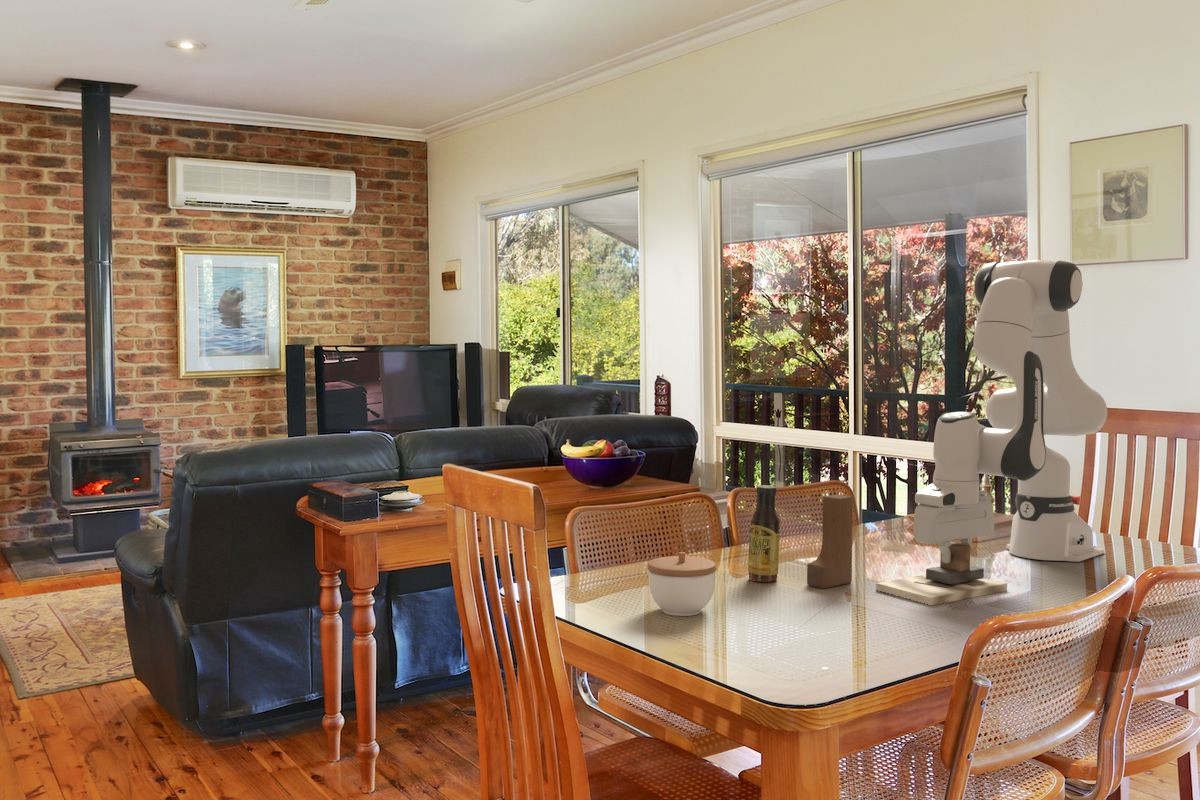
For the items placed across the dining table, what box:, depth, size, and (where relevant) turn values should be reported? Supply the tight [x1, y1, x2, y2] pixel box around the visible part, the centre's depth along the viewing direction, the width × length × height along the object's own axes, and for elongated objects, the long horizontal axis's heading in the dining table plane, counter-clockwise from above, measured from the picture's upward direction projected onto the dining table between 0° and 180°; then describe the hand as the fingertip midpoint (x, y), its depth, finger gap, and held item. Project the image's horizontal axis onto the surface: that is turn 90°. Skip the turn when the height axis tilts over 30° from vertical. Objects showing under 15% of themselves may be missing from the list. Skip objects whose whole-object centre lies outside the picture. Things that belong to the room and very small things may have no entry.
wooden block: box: [806, 494, 854, 590], centre depth 215 cm, size 9×4×18 cm, turn 126°
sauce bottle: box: [747, 484, 781, 584], centre depth 218 cm, size 6×6×20 cm
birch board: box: [875, 574, 1008, 606], centre depth 209 cm, size 22×14×2 cm, turn 121°
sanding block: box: [925, 541, 985, 584], centre depth 211 cm, size 10×6×7 cm, turn 121°
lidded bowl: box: [647, 551, 717, 617], centre depth 194 cm, size 13×13×11 cm
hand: (954, 561), depth 211 cm, fingers closed on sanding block, 3 cm apart
